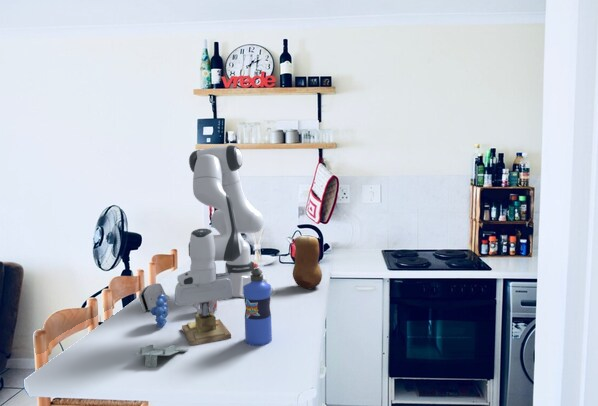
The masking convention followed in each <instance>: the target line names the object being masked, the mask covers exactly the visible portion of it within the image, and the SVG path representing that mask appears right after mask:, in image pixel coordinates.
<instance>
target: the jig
mask: <svg viewBox="0 0 598 406" xmlns="http://www.w3.org/2000/svg"><path fill="white" fill-rule="evenodd" d="M194 317H195V318H194V319H195V321H190V322H187V324H183V325H181V330H182V331H183V334H184V335H185V338H186V339H187V342H188V343H189V345H190V346H196V345H200V344H201V345H202V344H207V343H211V342H216V341H222V340H223V341H224V340H229V339H231V338H232V334H231V331H229V329H228V328H227V327H226V325H225V324H224V323H223V322H222V321H221V319H220V318H219V319H216V316H215V313H209V317H208V318H202V317H201V315H198V314H197V313H195V314H194Z"/></svg>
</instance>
